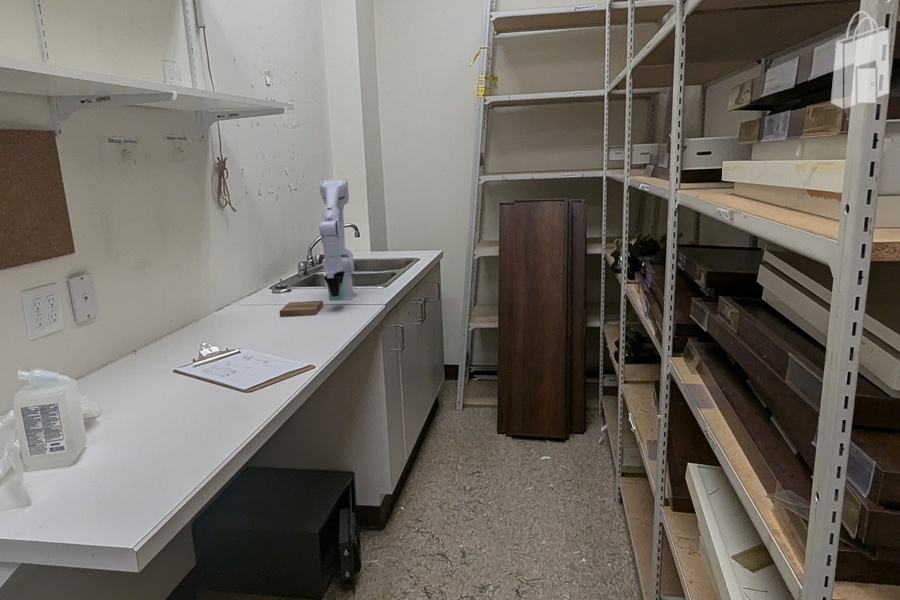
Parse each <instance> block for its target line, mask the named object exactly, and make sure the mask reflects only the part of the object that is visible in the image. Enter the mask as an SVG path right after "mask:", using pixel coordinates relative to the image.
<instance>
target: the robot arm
mask: <svg viewBox="0 0 900 600" xmlns="http://www.w3.org/2000/svg"><path fill="white" fill-rule="evenodd" d="M319 190H320V191H319V192H320V196H321V197H322V198H321V199H322V201H323V204H325V206H324V207H323V208H322V216H321V222H319V224H318V230H319V232H318V233H319V236H320V240H321V241H320V242H321V244H322V250H323V258H324V266H325V267H324V268H322V269H321V271H322V272H325V273H326V275H325V276H324V277H323V279H324V281H325V282H326V284H327V287H328V286H329V289H330V292H331V295H332V297H333V296H338V295H339V283H343V285H344V294H345V297H344V298H343V300H342V301H347V300H353V299H354V297H355V296H356V295H357V293H356V292H354V287H353V278H352V273H354V271H355V262H354V254H353V253H352V251H351V250H349V249H347V248H346V240H345V239H346V238H345V223H344V222H345V221H344V209H345V205H346V204H348V203H349V200H350V199H349V198H350V196H349V195H350V193H349V183H348V179H346V178H340V179H339V178H337V179H321V180H320V181H319Z"/></svg>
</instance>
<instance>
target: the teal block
mask: <svg viewBox="0 0 900 600" xmlns="http://www.w3.org/2000/svg"><path fill="white" fill-rule="evenodd" d="M327 289H328V298H329V299H328V300H329V301H344V300H343V298H344V297H345V294H344V285H343V283H339V295H338V296H333V297H332V295H331V292H330V289H329V286H328V285H327Z"/></svg>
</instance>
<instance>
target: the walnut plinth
mask: <svg viewBox="0 0 900 600" xmlns="http://www.w3.org/2000/svg"><path fill="white" fill-rule="evenodd" d="M322 308H324V301H323V300H310V301H309V300H308V301H294V302H293V301H291V302H288V303H287V304H286V305H284V306H283V307H282V308H281V309H280V310H279V311H278V312H279V318H285V317H286V318H287V317H302V316H316V315H317V314H318V313H319V312H320V310H322Z"/></svg>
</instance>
